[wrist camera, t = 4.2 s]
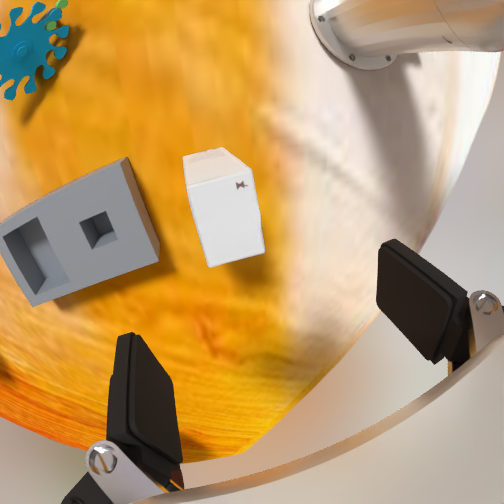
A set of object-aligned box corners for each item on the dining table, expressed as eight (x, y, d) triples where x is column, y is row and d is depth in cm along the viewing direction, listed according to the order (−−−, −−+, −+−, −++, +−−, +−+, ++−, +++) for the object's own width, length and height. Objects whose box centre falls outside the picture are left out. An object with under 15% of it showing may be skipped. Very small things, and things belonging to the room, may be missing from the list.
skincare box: (180, 156, 26) (183, 183, 16) (223, 145, 27) (254, 166, 16) (194, 211, 29) (208, 270, 19) (234, 201, 30) (268, 253, 19)
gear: (21, 118, 18) (-45, 75, 8) (16, 102, 19) (-38, 65, 10) (97, 32, 17) (44, -26, 8) (81, 28, 19) (36, -20, 9)
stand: (127, 156, 24) (119, 163, 21) (160, 243, 30) (158, 261, 26) (6, 218, 23) (-10, 231, 19) (43, 287, 28) (32, 307, 24)
